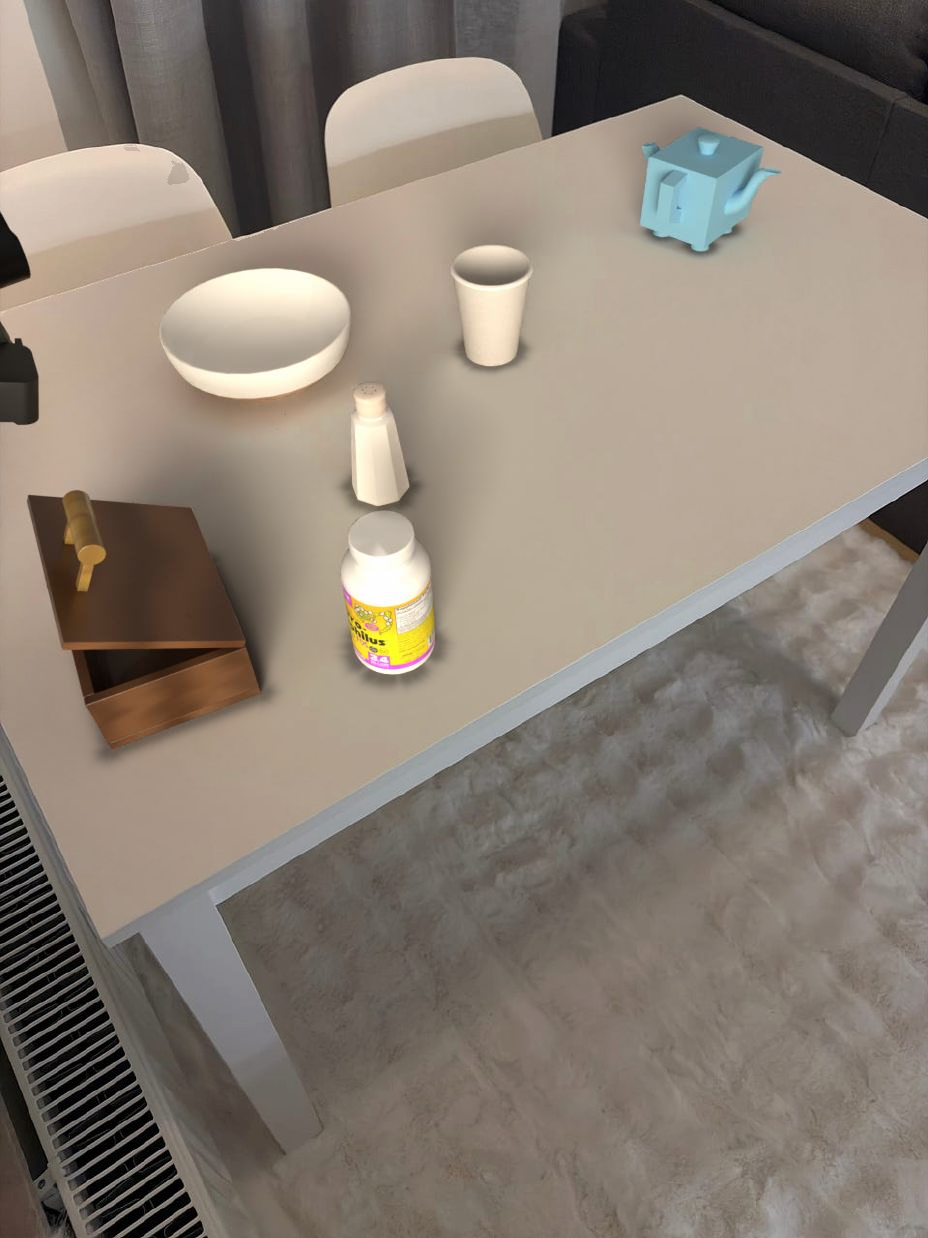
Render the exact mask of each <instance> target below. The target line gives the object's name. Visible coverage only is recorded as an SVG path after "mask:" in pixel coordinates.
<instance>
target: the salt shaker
mask: <svg viewBox="0 0 928 1238" xmlns="http://www.w3.org/2000/svg"><path fill="white" fill-rule="evenodd" d="M386 395H387V390H386V388H385V387H384V386H383V384H381V383H379V382H377V381H376V382H375V381H366V382H365V381H364V382H362V383H360V384H358V385H357V386H356V387H355V388H354V389H353V391H352V397H353V399H354V406H355V410H353V412H352V413H351V414H350V441H351V442H350V443H351V444H350V446H351V447H350V448H351V449H350V450H351V486H352V488H353V491H354V494H355V496H356V498H357V500H358V501H359V502H363V503H366V504H369V505H371V506H376V507H381V506H386V505H389V504H394V503H397V502H399V501H400V500H401V499H402V497H403V496H404V495H405V494H406V492H407V491H408V489H409V488H410V482H409V477H408V473H407V468H406V465H405V460H404V455H403V450H402V446H401V443H400V438H399V434H398V429H397V424H396V421H395V417H394V414H393V412H392V410H391V408H390V406H389V405H387V398H386Z"/></svg>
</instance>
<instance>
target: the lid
mask: <svg viewBox="0 0 928 1238" xmlns="http://www.w3.org/2000/svg"><path fill="white" fill-rule="evenodd" d="M26 505H27V508H28V512H29V516H30V520H31V524H32V529H33V533H34V538H35V541H36V545H37V550H38V553H39V559H40V561H41V562H40V563H41V566H42V571H43V575H44V580H45V583H46V588H47V592H48V596H49V601H50V604H51V609H52V613H53V617H54V622H55V625H56V630H57V633H58V638H59V641H60V646H61V650H63V651H72V650H92V649H162V648H231V647H244V644H245V645H246V642H247V641H246V638H245V635H244V633H243V630H242V628H241V625H240V623H239V621H238V618H237V616H236V613H235V611H234V608H233V606H232V604H231V601H230V599H229V596H228V593H227V591H226V588H225V585H224V584H223V581H222V579H221V576H220V574H219V571H218V569H217V567H216V564H215V562H214V559H213V556H212V554H211V551H210V549H209V547H208V545H207V542H206V540H205V537H204V535H203V532H202V530H201V527H200V525H199V523H198V520H197V518H196V515H195V513H194V510H193V507H190V506H177V505H163V504H151V503H137V502H125V501H114V500H113V501H112V500H102V499H91V498H90V495H89V494H88V493H86V492H85V491H83V490H79V489H75V490H73V489H72V490H70V491H68V492H67V493H65V494H64V496H63V497H61V496H52V495H51V496H50V495H39V494H38V495H37V494H28V495H27V499H26Z"/></svg>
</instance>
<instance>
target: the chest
mask: <svg viewBox="0 0 928 1238" xmlns="http://www.w3.org/2000/svg"><path fill="white" fill-rule="evenodd" d="M71 653H72V657H73V661H74V665H75V669H76V673H77V678H78V682H79V686H80V690H81V693H82V694H81V695H82V697H83V702H84V705H85V707H86V709H87V711H88V713H89V714H90V716H91V717H92V719H93V722H95V724H96V726H97V727H98V729H99V731H100V733H101V734H102V736H103V737H104V739H105V740H106V743H107V744H108V746H109V748H110V750H113V749H116V748H119V747H122V746H125V745H127V744H129V743H133V742H135V741H138V740H140V739H143V738H146V737H148V736H151V735H154V734H156V733H160V732H162V731H164V730H167V729H170V728H172V727H175V726H178V725H179V724H182V723H186V722H188V721H190V720H194V719H196V718H199V717H201V716H204V715H206V714H209V713H212V712H215V711H217V710H220V709H222V708H225V707H228V706H230V705H234V704H236V703H238V702H242V701H244V700H247V699H249V698H252V697H254V696H257V695H261V693H262V691H261V689H260V686H259V682H258V680H257V677H256V674H255V671H254V668H253V665H252V662H251V659H250V655H249V653H248V649H247V647H246V643H245V644H244V647H231V648H162V649H92V650H71Z"/></svg>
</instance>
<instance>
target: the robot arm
mask: <svg viewBox="0 0 928 1238" xmlns="http://www.w3.org/2000/svg"><path fill="white" fill-rule="evenodd" d="M31 275H32V274H31V268H30V264H29V261H28V258H27V255H26V253H25V250H24V247H23V246H22V243H21V241H20V238H19V237H18V236H17V234H16V233H15V232H13V230H12V229H11V228H10V227H9V224H8V223H7V220H6V218H5V217H4V215H3V214H2V212H1V211H0V290H1V289H4V288H7V287H10V286H13V285H16V284H18V283H21V282H24V281H26V280H29V279H31V277H32V276H31ZM39 380H40V377H39V373H38V369H37V365H36V362H35V358H34V354H33V351H32V349H31V348H29V347H28V346H26V345H24V343H23V340H22V338H21V337H14V342H13V341H12V340H11V337H10V335H9V333H8V331H7V330H6V328H5V325H4V324H3V323H2V322H1V321H0V423H13V424H15V425H17V426H28V425H33V424H36V423H37V422H38V421H39V419H40V386H39V385H40V381H39Z"/></svg>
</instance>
